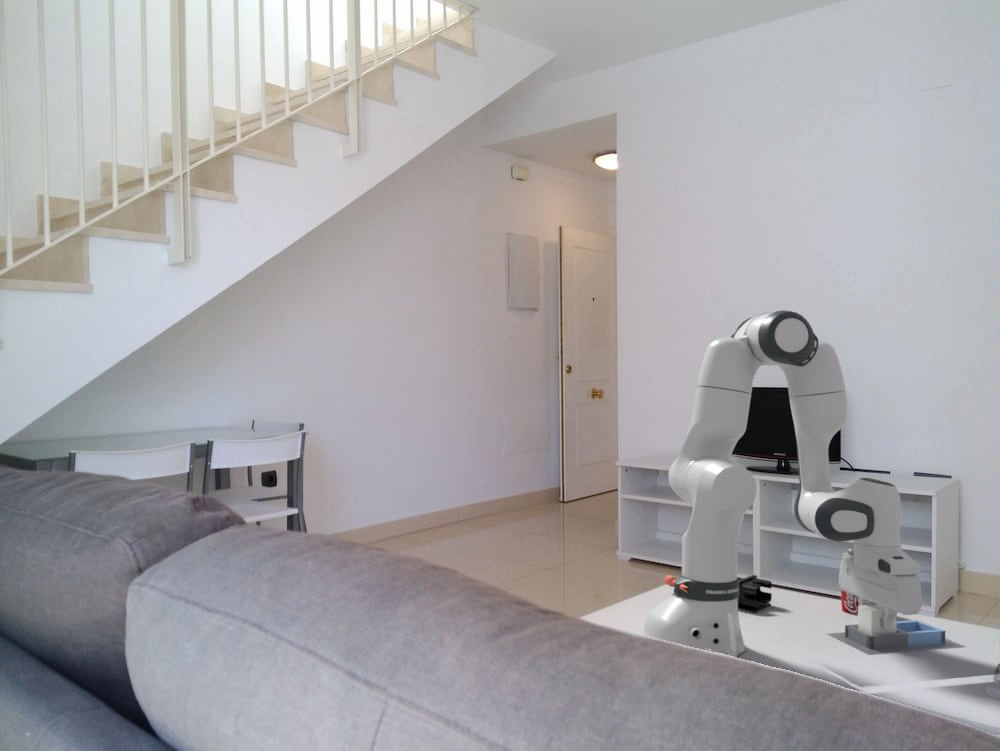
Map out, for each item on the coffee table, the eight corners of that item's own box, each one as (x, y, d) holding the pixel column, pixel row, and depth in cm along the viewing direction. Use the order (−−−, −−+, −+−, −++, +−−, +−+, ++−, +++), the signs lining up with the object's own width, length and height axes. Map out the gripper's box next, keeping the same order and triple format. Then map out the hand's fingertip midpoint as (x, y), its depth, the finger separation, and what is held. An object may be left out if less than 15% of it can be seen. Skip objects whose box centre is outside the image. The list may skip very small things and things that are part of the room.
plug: (871, 645, 156) (871, 611, 156) (857, 639, 160) (858, 605, 160) (896, 643, 158) (896, 609, 158) (882, 637, 161) (882, 604, 162)
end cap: (744, 599, 193) (745, 572, 193) (772, 605, 188) (772, 577, 188) (726, 607, 186) (726, 579, 186) (754, 614, 181) (754, 585, 181)
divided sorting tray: (868, 659, 151) (868, 641, 151) (826, 638, 163) (826, 621, 163) (966, 651, 156) (966, 634, 156) (917, 631, 169) (917, 615, 169)
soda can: (878, 621, 176) (878, 568, 176) (845, 619, 177) (845, 567, 178) (869, 612, 183) (869, 562, 183) (838, 610, 184) (838, 560, 185)
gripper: (831, 547, 168) (831, 610, 168) (900, 569, 149) (899, 640, 148) (856, 546, 170) (856, 608, 170) (927, 567, 150) (927, 638, 150)
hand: (877, 624), depth 159 cm, fingers closed on plug, 4 cm apart
